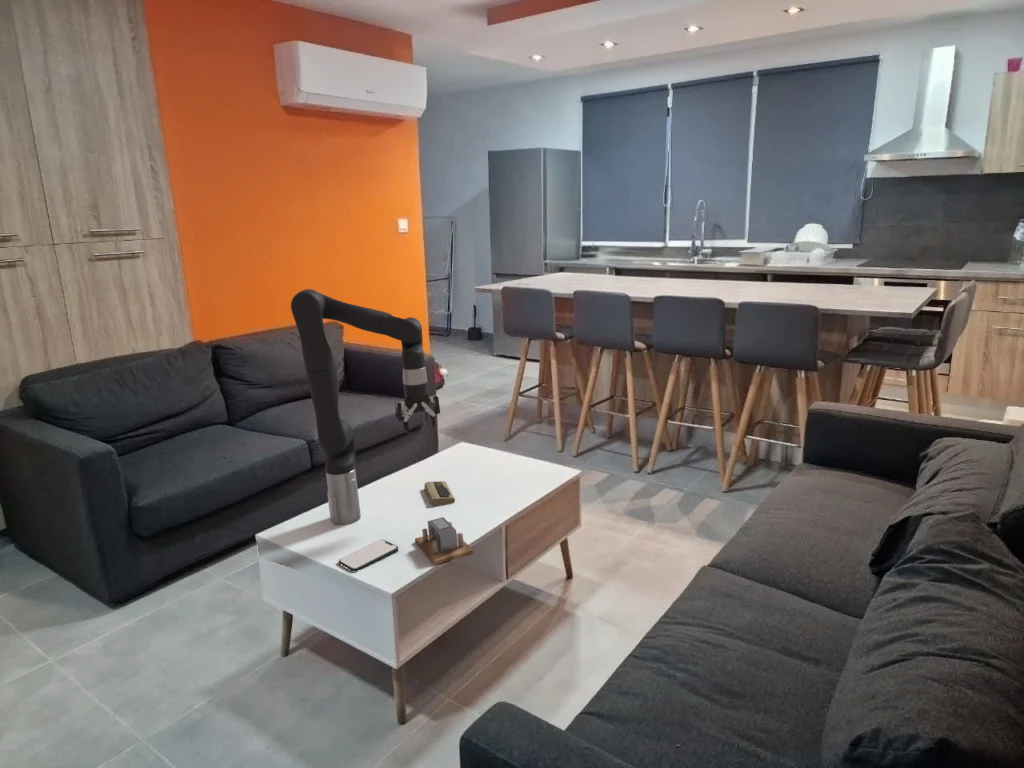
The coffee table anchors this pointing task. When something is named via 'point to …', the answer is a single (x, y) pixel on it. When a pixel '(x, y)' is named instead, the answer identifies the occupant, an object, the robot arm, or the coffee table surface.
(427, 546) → the tray
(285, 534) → the coffee table surface
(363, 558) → the smartphone
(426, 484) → the computer
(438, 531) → the block
